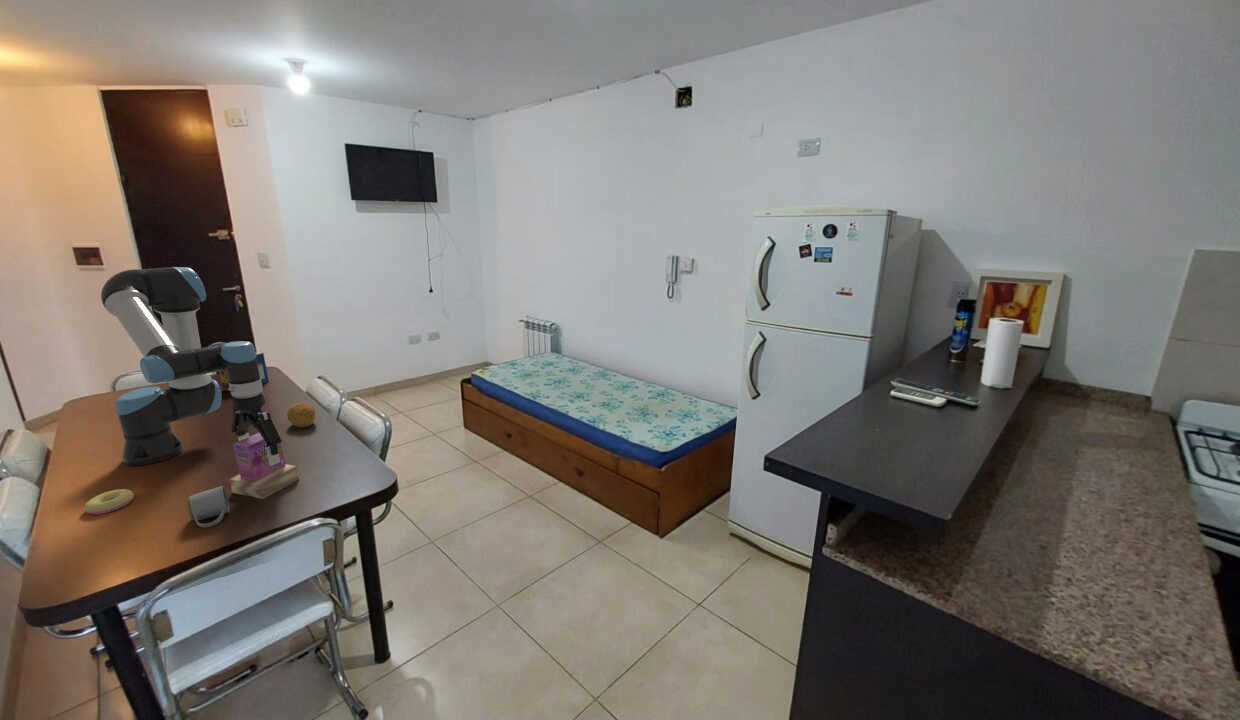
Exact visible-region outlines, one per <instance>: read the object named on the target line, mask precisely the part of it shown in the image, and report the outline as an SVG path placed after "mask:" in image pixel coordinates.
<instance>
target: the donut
mask: <svg viewBox="0 0 1240 720" xmlns="http://www.w3.org/2000/svg"><path fill="white" fill-rule="evenodd" d="M134 497H135V496H134V492H133V491H132V490H130V489H127V488H123V489H122V488H120V489H114V490H110V491H105V492H103V493H100V494H98V495H95V496H94V497H92V498H90V499H89V500H88V501H87V502H86V503H85V504H84V511H85V512H86V513H87V514H90V515H102V514H103V513H104V514H107V513H111V511H112V512H115V511H117V510H119V508H120V509H121V508H124V507H125V506H127V505H128V504H129V503H131V502H132V501H133V499H134ZM114 510H115V511H114ZM104 514H103V515H104Z"/></svg>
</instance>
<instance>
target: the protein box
mask: <svg viewBox="0 0 1240 720" xmlns="http://www.w3.org/2000/svg"><path fill="white" fill-rule="evenodd" d="M255 352H256V351H255ZM256 358H257V363H258V368H259V374H260V378H261V383H262V385H265V384H267V383H269V382H270V381H269V376H268V370H267V366H266V365H267V364H266V359H265V354H264V352H258V351H257V352H256ZM218 372H219V376H220V380H221V385H222V389H223V391H227V392H228V391H229V392H230V390H229V389H228V388H230V387H229V383H228V379H227V374H226V371H225V370H222V371H218Z"/></svg>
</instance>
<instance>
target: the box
mask: <svg viewBox="0 0 1240 720" xmlns="http://www.w3.org/2000/svg"><path fill="white" fill-rule="evenodd" d="M277 432H278V434H279V436H281V435H280V432H279V431H277ZM249 436H250V437H248V438H246V439H243V440H241V441H239V440H238V441H236V442H234V443H233V444H232V445H233V451H234V455H235V459H236V464H237V468H238V471H239V474H240V477H241V479H245V480H250V481H256V480H258V479H260V478H262V477H264V476H266V475H268V474H270V473H271V472H273V471H275V470H277V469H279V468H281V467H283V466H284V465H285V464H286V460H285V456H284V452H283V445H282V442H281V443H278V444H277V447H278V452H279V458H280V462H279V463H277V464H275V465H272V466H270V465H269V461H268V456H267V451H266V447H265V446H266V445H267V444H266V442H265V441H264V439H263V437H262V436H261V434H260V433H259V432H257V433H254V434H252V435H249Z"/></svg>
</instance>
